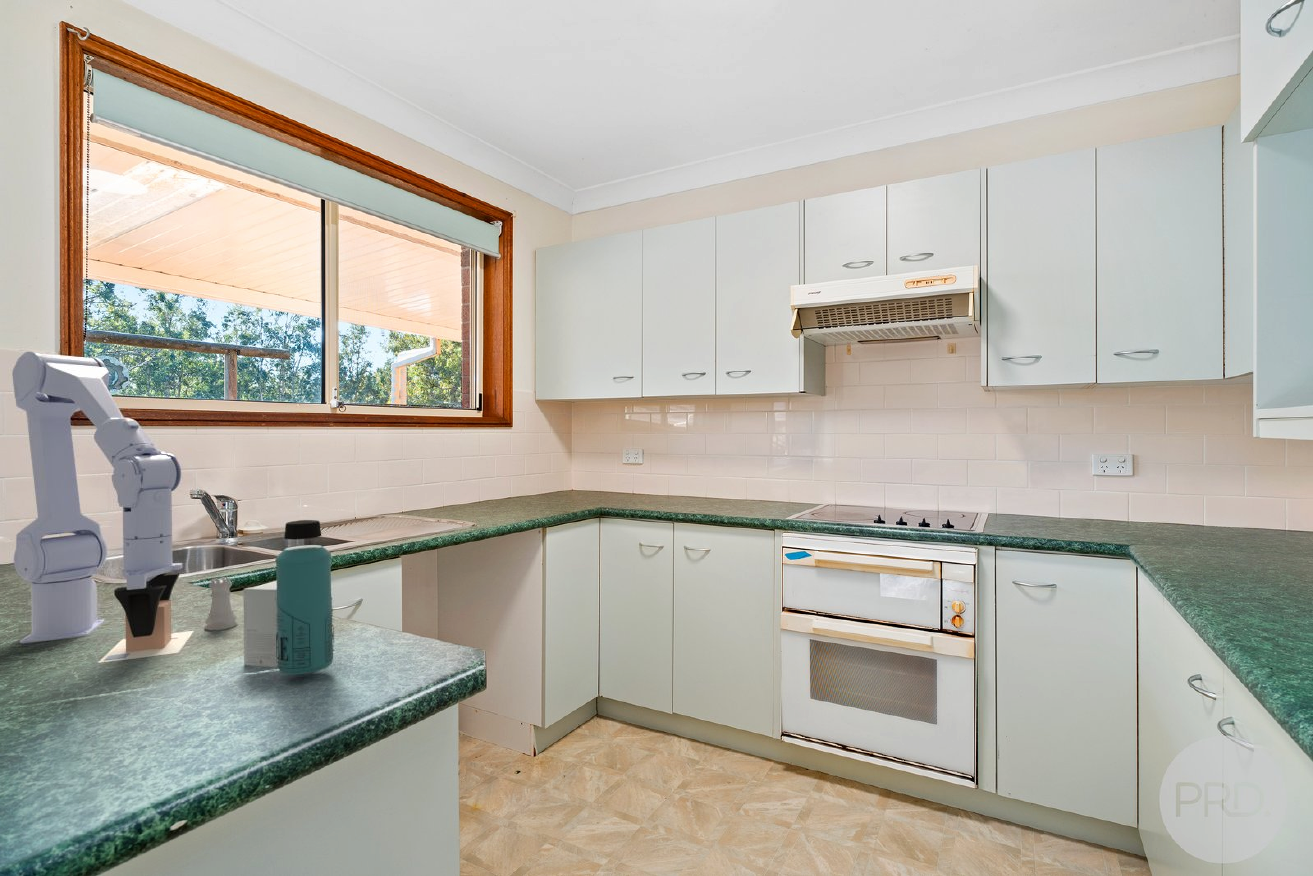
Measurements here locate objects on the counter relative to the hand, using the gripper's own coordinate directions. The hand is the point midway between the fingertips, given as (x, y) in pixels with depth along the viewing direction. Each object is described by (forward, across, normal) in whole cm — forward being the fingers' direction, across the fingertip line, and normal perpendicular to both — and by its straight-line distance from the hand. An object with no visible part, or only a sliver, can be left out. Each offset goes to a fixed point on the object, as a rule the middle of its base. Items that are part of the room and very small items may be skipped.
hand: (149, 629), depth 97 cm
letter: (+3, 0, 0) cm, 3 cm away
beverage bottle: (+3, -25, -21) cm, 33 cm away
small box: (+3, -15, -18) cm, 23 cm away
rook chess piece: (+3, +7, -8) cm, 11 cm away
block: (+2, 0, 0) cm, 2 cm away
